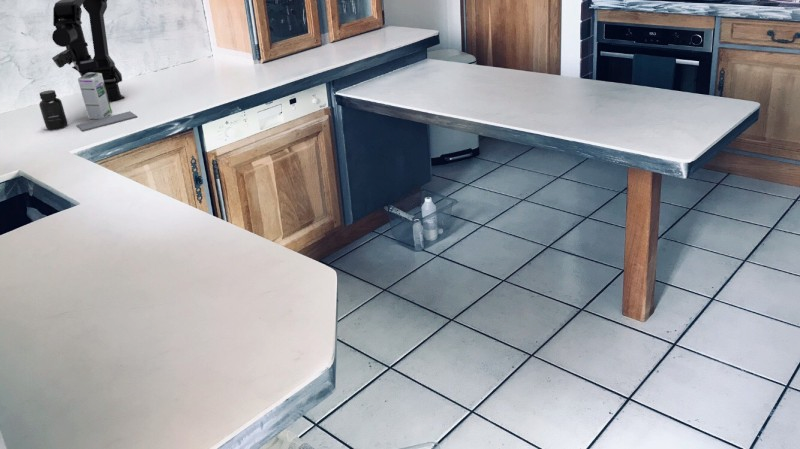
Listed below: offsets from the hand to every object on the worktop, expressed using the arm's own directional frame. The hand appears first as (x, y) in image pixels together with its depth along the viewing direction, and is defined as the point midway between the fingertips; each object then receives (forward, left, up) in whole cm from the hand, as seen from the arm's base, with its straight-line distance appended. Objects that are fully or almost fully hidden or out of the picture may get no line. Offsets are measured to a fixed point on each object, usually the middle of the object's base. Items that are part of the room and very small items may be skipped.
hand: (88, 86), depth 249 cm
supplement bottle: (+4, -14, -10) cm, 18 cm away
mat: (+13, 0, -10) cm, 16 cm away
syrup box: (+5, 0, -10) cm, 11 cm away
